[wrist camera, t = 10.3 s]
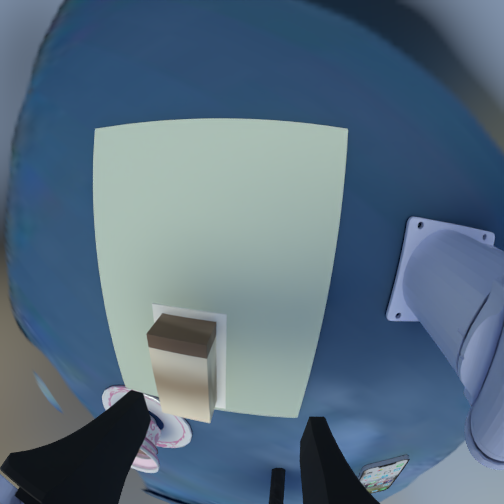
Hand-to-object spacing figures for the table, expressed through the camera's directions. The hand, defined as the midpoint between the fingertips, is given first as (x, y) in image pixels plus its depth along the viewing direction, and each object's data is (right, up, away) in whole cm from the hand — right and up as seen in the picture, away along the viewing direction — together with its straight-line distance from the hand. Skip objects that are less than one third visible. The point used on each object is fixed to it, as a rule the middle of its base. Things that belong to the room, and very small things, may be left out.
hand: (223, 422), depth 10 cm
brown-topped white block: (-4, -2, +11) cm, 12 cm away
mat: (-2, +4, +10) cm, 11 cm away
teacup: (-12, -13, +17) cm, 24 cm away
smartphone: (+21, -29, +18) cm, 40 cm away
